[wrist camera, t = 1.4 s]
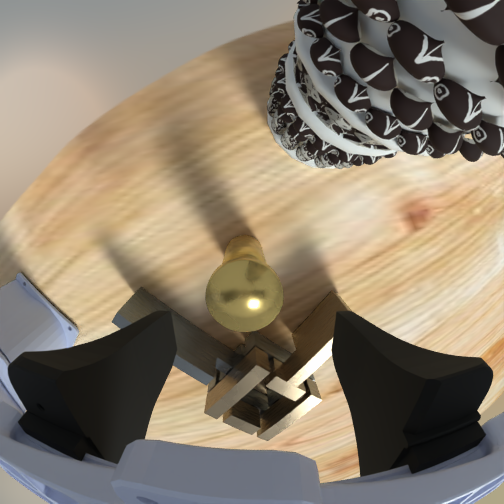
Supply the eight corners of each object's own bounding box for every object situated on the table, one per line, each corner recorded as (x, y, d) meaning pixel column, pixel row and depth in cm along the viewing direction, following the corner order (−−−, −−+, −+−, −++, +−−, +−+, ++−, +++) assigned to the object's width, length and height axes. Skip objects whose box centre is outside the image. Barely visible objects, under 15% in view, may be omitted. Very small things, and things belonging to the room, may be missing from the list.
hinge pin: (211, 257, 21) (190, 303, 12) (240, 220, 20) (237, 244, 12) (248, 284, 21) (250, 344, 13) (277, 249, 21) (299, 291, 13)
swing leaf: (264, 406, 24) (267, 441, 20) (209, 377, 23) (204, 412, 19) (360, 313, 22) (383, 340, 18) (307, 270, 21) (324, 293, 16)
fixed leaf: (309, 364, 24) (321, 400, 19) (264, 404, 25) (267, 441, 20) (157, 260, 21) (135, 282, 16) (122, 316, 22) (98, 345, 17)
